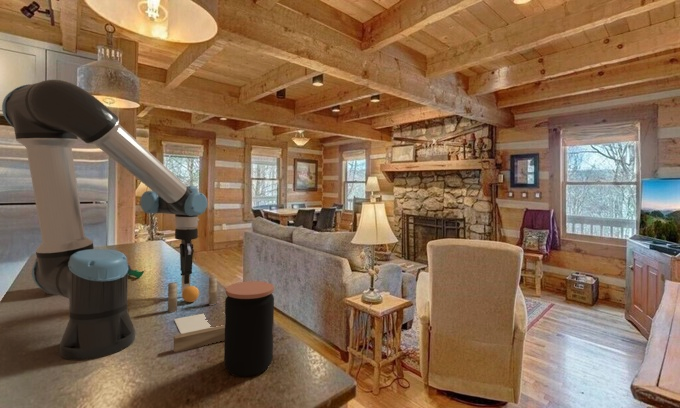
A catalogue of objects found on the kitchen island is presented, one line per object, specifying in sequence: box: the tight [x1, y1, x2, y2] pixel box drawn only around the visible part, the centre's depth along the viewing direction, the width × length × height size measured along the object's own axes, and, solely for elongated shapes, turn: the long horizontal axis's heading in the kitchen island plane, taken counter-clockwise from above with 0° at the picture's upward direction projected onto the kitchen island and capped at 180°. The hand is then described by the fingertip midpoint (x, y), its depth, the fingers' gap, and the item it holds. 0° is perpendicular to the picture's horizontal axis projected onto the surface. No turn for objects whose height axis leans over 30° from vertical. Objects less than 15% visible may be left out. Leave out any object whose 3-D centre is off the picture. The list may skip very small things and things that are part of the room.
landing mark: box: [173, 313, 212, 334], centre depth 97 cm, size 14×14×1 cm
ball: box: [181, 285, 200, 303], centre depth 114 cm, size 6×6×6 cm
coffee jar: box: [223, 280, 275, 378], centre depth 74 cm, size 11×11×18 cm
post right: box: [208, 276, 218, 305], centre depth 112 cm, size 3×3×9 cm
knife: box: [128, 264, 146, 279], centre depth 144 cm, size 20×2×5 cm, turn 61°
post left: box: [167, 282, 178, 313], centre depth 105 cm, size 3×3×9 cm
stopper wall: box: [173, 325, 225, 354], centre depth 85 cm, size 2×20×4 cm, turn 125°
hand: (185, 291), depth 119 cm, fingers closed
